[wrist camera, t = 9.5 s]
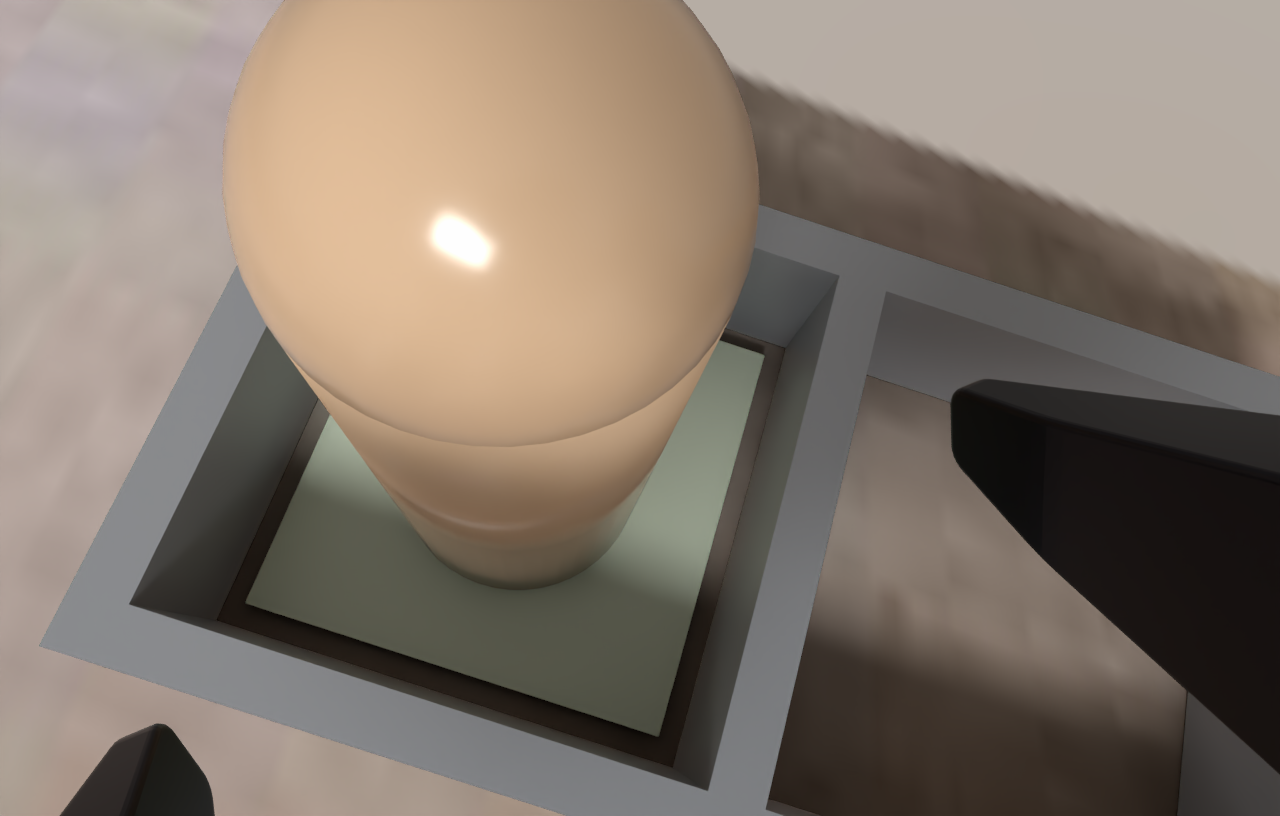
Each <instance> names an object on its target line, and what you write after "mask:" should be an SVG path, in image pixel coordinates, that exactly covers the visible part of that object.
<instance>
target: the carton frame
mask: <svg viewBox="0 0 1280 816" xmlns="http://www.w3.org/2000/svg"><path fill="white" fill-rule="evenodd" d="M725 328H727V329H730V330H733V331H736V332H739V333H742V334H745V335H748V336H751V337H754V338H757V339H760V340H763V341H766V342H769V343H772V344H775V345H778V346H781V347H784V348H786V349H785V353H784V357H783V360H782V364H781V368H780V371H779V375H778V379H777V383H776V386H775V390H774V394H773V397H772V401H771V405H770V408H769V412H768V416H767V420H766V423H765V427H764V431H763V434H762V438H761V442H760V446H759V449H758V453H757V457H756V460H755V464H754V468H753V471H752V475H751V479H750V483H749V486H748V490H747V494H746V497H745V501H744V505H743V509H742V512H741V516H740V520H739V523H738V527H737V531H736V534H735V538H734V542H733V546H732V549H731V553H730V557H729V560H728V564H727V568H726V572H725V575H724V579H723V583H722V586H721V590H720V594H719V597H718V601H717V605H716V609H715V612H714V616H713V620H712V623H711V627H710V631H709V635H708V638H707V642H706V646H705V649H704V653H703V657H702V660H701V664H700V668H699V672H698V675H697V679H696V683H695V686H694V690H693V694H692V698H691V701H690V705H689V709H688V712H687V716H686V720H685V724H684V727H683V731H682V735H681V738H680V742H679V746H678V749H677V753H676V757H675V761H674V764H673V768H672V767H669V766H666V765H663V764H660V763H656V762H653V761H650V760H647V759H644V758H641V757H638V756H635V755H632V754H629V753H625V752H622V751H619V750H616V749H613V748H610V747H607V746H604V745H601V744H598V743H594V742H591V741H588V740H585V739H582V738H579V737H576V736H573V735H570V734H567V733H563V732H560V731H557V730H554V729H551V728H548V727H545V726H542V725H539V724H536V723H533V722H529V721H526V720H523V719H520V718H517V717H514V716H511V715H508V714H505V713H502V712H498V711H495V710H492V709H489V708H486V707H483V706H480V705H477V704H474V703H471V702H467V701H464V700H461V699H458V698H455V697H452V696H449V695H446V694H443V693H440V692H436V691H433V690H430V689H427V688H424V687H421V686H418V685H415V684H412V683H409V682H405V681H402V680H399V679H396V678H393V677H390V676H387V675H384V674H381V673H378V672H375V671H371V670H368V669H365V668H362V667H359V666H356V665H353V664H350V663H347V662H344V661H340V660H337V659H334V658H331V657H328V656H325V655H322V654H319V653H316V652H313V651H309V650H306V649H303V648H300V647H297V646H294V645H291V644H288V643H285V642H282V641H278V640H275V639H272V638H269V637H266V636H263V635H260V634H257V633H254V632H251V631H247V630H244V629H241V628H238V627H235V626H232V625H229V624H226V623H223V622H220V621H216V620H217V617H218V615H219V613H220V611H221V609H222V607H223V604H224V602H225V600H226V598H227V596H228V593H229V591H230V589H231V587H232V585H233V583H234V580H235V578H236V576H237V574H238V572H239V569H240V567H241V565H242V563H243V561H244V559H245V556H246V554H247V552H248V550H249V548H250V545H251V543H252V541H253V539H254V537H255V535H256V532H257V530H258V528H259V526H260V524H261V521H262V519H263V517H264V515H265V513H266V511H267V508H268V506H269V504H270V502H271V500H272V497H273V495H274V493H275V491H276V489H277V487H278V484H279V482H280V480H281V478H282V476H283V473H284V471H285V469H286V467H287V465H288V463H289V460H290V458H291V456H292V454H293V452H294V450H295V447H296V445H297V443H298V441H299V439H300V436H301V434H302V432H303V430H304V428H305V426H306V423H307V421H308V419H309V417H310V415H311V412H312V410H313V408H314V406H315V404H316V402H317V399H318V397H317V395H316V394H315V392H314V391H313V390H312V388H311V387H310V386H309V384H308V383H307V381H306V380H305V379H304V377H303V376H302V374H301V373H300V372H299V370H298V369H297V368H296V366H295V365H294V363H293V362H292V361H291V359H290V358H289V357H288V355H287V354H286V352H285V351H284V350H283V348H282V347H281V345H280V344H279V342H278V341H277V340H276V338H275V337H274V335H273V334H272V333H271V331H270V330H269V328H268V327H267V325H266V324H265V322H264V320H263V318H262V317H261V315H260V313H259V311H258V309H257V307H256V305H255V303H254V301H253V299H252V297H251V295H250V293H249V291H248V289H247V287H246V285H245V283H244V281H243V279H242V277H241V274H240V271H239V267H238V265H237V267H236V268H235V270H234V272H233V274H232V276H231V278H230V280H229V282H228V284H227V286H226V288H225V290H224V291H223V293H222V295H221V297H220V299H219V301H218V303H217V305H216V307H215V309H214V311H213V313H212V315H211V316H210V318H209V320H208V322H207V324H206V326H205V328H204V330H203V332H202V334H201V336H200V338H199V339H198V341H197V343H196V345H195V347H194V349H193V351H192V353H191V355H190V357H189V359H188V361H187V363H186V364H185V366H184V368H183V370H182V372H181V374H180V376H179V378H178V380H177V382H176V384H175V386H174V387H173V389H172V391H171V393H170V395H169V397H168V399H167V401H166V403H165V405H164V407H163V409H162V410H161V412H160V414H159V416H158V418H157V420H156V422H155V424H154V426H153V428H152V430H151V432H150V434H149V435H148V437H147V439H146V441H145V443H144V445H143V447H142V449H141V451H140V453H139V455H138V457H137V458H136V460H135V462H134V464H133V466H132V468H131V470H130V472H129V474H128V476H127V478H126V480H125V482H124V483H123V485H122V487H121V489H120V491H119V493H118V495H117V497H116V499H115V501H114V503H113V505H112V506H111V508H110V510H109V512H108V514H107V516H106V518H105V520H104V522H103V524H102V526H101V528H100V530H99V531H98V533H97V535H96V537H95V539H94V541H93V543H92V545H91V547H90V549H89V551H88V553H87V554H86V556H85V558H84V560H83V562H82V564H81V566H80V568H79V570H78V572H77V574H76V576H75V578H74V579H73V581H72V583H71V585H70V587H69V589H68V591H67V593H66V595H65V597H64V599H63V601H62V602H61V604H60V606H59V608H58V610H57V612H56V614H55V616H54V618H53V620H52V622H51V624H50V625H49V627H48V629H47V631H46V633H45V635H44V637H43V639H42V641H41V643H40V645H39V646H40V647H44V648H47V649H50V650H53V651H56V652H59V653H62V654H65V655H68V656H72V657H75V658H78V659H81V660H84V661H87V662H90V663H93V664H96V665H100V666H103V667H106V668H109V669H112V670H115V671H118V672H121V673H124V674H128V675H131V676H134V677H137V678H140V679H143V680H146V681H149V682H152V683H156V684H159V685H162V686H165V687H168V688H171V689H174V690H177V691H180V692H184V693H187V694H190V695H193V696H196V697H199V698H202V699H205V700H208V701H212V702H215V703H218V704H221V705H224V706H227V707H230V708H233V709H236V710H240V711H243V712H246V713H249V714H252V715H255V716H258V717H261V718H264V719H268V720H271V721H274V722H277V723H280V724H283V725H286V726H289V727H292V728H295V729H299V730H302V731H305V732H308V733H311V734H314V735H317V736H320V737H323V738H327V739H330V740H333V741H336V742H339V743H342V744H345V745H348V746H351V747H355V748H358V749H361V750H364V751H367V752H370V753H373V754H376V755H379V756H383V757H386V758H389V759H392V760H395V761H398V762H401V763H404V764H407V765H411V766H414V767H417V768H420V769H423V770H426V771H429V772H432V773H435V774H439V775H442V776H445V777H448V778H451V779H454V780H457V781H460V782H463V783H467V784H470V785H473V786H476V787H479V788H482V789H485V790H488V791H491V792H495V793H498V794H501V795H504V796H507V797H510V798H513V799H516V800H519V801H523V802H526V803H529V804H532V805H535V806H538V807H541V808H544V809H547V810H551V811H554V812H557V813H560V814H563V815H566V816H821V815H818V814H814V813H811V812H808V811H805V810H802V809H799V808H796V807H793V806H790V805H787V804H783V803H780V802H777V801H774V800H771V799H768V797H769V792H770V788H771V784H772V779H773V775H774V771H775V766H776V762H777V758H778V754H779V749H780V745H781V741H782V736H783V732H784V728H785V724H786V719H787V715H788V711H789V706H790V702H791V698H792V693H793V689H794V685H795V681H796V676H797V672H798V668H799V663H800V659H801V655H802V651H803V646H804V642H805V638H806V633H807V629H808V625H809V620H810V616H811V612H812V608H813V603H814V599H815V595H816V590H817V586H818V582H819V577H820V573H821V569H822V565H823V560H824V556H825V552H826V547H827V543H828V539H829V535H830V530H831V526H832V522H833V517H834V513H835V509H836V504H837V500H838V496H839V492H840V487H841V483H842V479H843V474H844V470H845V466H846V462H847V457H848V453H849V449H850V444H851V440H852V436H853V431H854V427H855V423H856V419H857V414H858V410H859V406H860V401H861V397H862V393H863V389H864V384H865V380H866V376H867V375H869V376H872V377H875V378H878V379H881V380H884V381H887V382H890V383H893V384H896V385H899V386H902V387H906V388H909V389H912V390H915V391H918V392H921V393H924V394H927V395H930V396H933V397H936V398H939V399H942V400H945V401H948V402H951V398H952V395H953V393H954V392H955V391H956V390H957V389H959V388H961V387H964V386H966V385H968V384H971V383H973V382H976V381H978V380H981V379H995V380H1003V381H1011V382H1019V383H1027V384H1035V385H1043V386H1051V387H1059V388H1067V389H1075V390H1083V391H1091V392H1099V393H1107V394H1115V395H1123V396H1131V397H1139V398H1147V399H1155V400H1163V401H1171V402H1178V403H1186V404H1194V405H1202V406H1210V407H1218V408H1226V409H1234V410H1242V411H1250V412H1258V413H1266V414H1274V415H1280V377H1279V376H1276V375H1273V374H1270V373H1267V372H1264V371H1261V370H1258V369H1255V368H1252V367H1249V366H1245V365H1242V364H1239V363H1236V362H1233V361H1230V360H1227V359H1224V358H1221V357H1218V356H1215V355H1212V354H1209V353H1206V352H1203V351H1200V350H1197V349H1194V348H1191V347H1188V346H1185V345H1182V344H1179V343H1176V342H1173V341H1170V340H1167V339H1164V338H1161V337H1158V336H1155V335H1152V334H1149V333H1146V332H1143V331H1140V330H1137V329H1134V328H1131V327H1128V326H1125V325H1122V324H1119V323H1116V322H1113V321H1110V320H1107V319H1104V318H1101V317H1098V316H1095V315H1092V314H1089V313H1086V312H1083V311H1080V310H1077V309H1074V308H1071V307H1068V306H1065V305H1062V304H1059V303H1055V302H1052V301H1049V300H1046V299H1043V298H1040V297H1037V296H1034V295H1031V294H1028V293H1025V292H1022V291H1019V290H1016V289H1013V288H1010V287H1007V286H1004V285H1001V284H998V283H995V282H992V281H989V280H986V279H983V278H980V277H977V276H974V275H971V274H968V273H965V272H962V271H959V270H956V269H953V268H950V267H947V266H944V265H941V264H938V263H935V262H932V261H929V260H926V259H923V258H920V257H917V256H914V255H911V254H908V253H905V252H902V251H899V250H896V249H893V248H890V247H887V246H884V245H881V244H878V243H875V242H872V241H869V240H866V239H862V238H859V237H856V236H853V235H850V234H847V233H844V232H841V231H838V230H835V229H832V228H829V227H826V226H823V225H820V224H817V223H814V222H811V221H808V220H805V219H802V218H799V217H796V216H793V215H790V214H787V213H784V212H781V211H778V210H775V209H772V208H769V207H766V206H763V205H760V204H759V208H758V220H757V231H756V242H755V247H754V251H753V255H752V259H751V263H750V267H749V271H748V274H747V277H746V280H745V283H744V286H743V288H742V291H741V293H740V296H739V298H738V301H737V303H736V306H735V308H734V311H733V313H732V315H731V317H730V319H729V321H728V323H727V325H726V327H725ZM764 356H765V355H762V354H759V353H756V352H753V351H750V350H747V349H744V348H741V347H738V346H735V345H732V344H729V343H726V342H723V341H720V340H719V341H718V343H717V345H716V347H715V349H714V351H713V353H712V355H711V357H710V359H709V361H708V363H707V365H706V367H705V369H704V371H703V373H702V375H701V377H700V379H699V381H698V383H697V385H696V387H695V389H694V391H693V393H692V395H691V397H690V399H689V400H688V402H687V404H686V406H685V408H684V410H683V412H682V414H681V416H680V418H679V420H678V422H677V424H676V426H675V428H674V430H673V432H672V434H671V436H670V438H669V440H668V442H667V444H666V446H665V448H664V450H663V452H662V454H661V456H660V458H659V460H658V462H657V464H656V466H655V468H654V470H653V472H652V474H651V476H650V478H649V480H648V482H647V484H646V486H645V488H644V490H643V492H642V494H641V495H640V497H639V499H638V501H637V503H636V505H635V507H634V509H633V511H632V513H631V515H630V517H629V519H628V521H627V523H626V525H625V527H624V529H623V530H622V532H621V534H620V535H619V537H618V538H617V540H616V541H615V542H614V544H613V545H612V546H611V547H610V549H609V550H608V551H607V552H606V553H605V554H604V555H603V556H602V557H601V558H600V559H599V560H598V561H597V562H595V563H594V564H593V565H591V566H590V567H589V568H587V569H586V570H584V571H583V572H581V573H579V574H577V575H576V576H574V577H572V578H570V579H567V580H565V581H562V582H560V583H558V584H554V585H550V586H547V587H543V588H536V589H528V590H507V589H500V588H493V587H490V586H486V585H482V584H479V583H476V582H474V581H471V580H469V579H467V578H464V577H462V576H461V575H459V574H458V573H456V572H454V571H453V570H451V569H449V568H448V567H447V566H446V565H444V564H443V563H442V562H441V561H439V560H438V559H437V558H436V557H435V556H434V555H433V554H432V553H431V551H430V550H429V549H428V548H427V547H426V546H425V544H424V543H423V542H422V540H421V539H420V537H419V536H418V535H417V533H416V532H415V531H414V529H413V528H412V526H411V525H410V524H409V522H408V521H407V519H406V518H405V517H404V515H403V514H402V513H401V511H400V510H399V508H398V507H397V506H396V504H395V503H394V502H393V500H392V499H391V497H390V496H389V495H388V493H387V492H386V490H385V489H384V488H383V486H382V485H381V484H380V482H379V481H378V479H377V478H376V477H375V475H374V474H373V473H372V471H371V470H370V468H369V467H368V466H367V464H366V463H365V461H364V460H363V459H362V457H361V456H360V455H359V453H358V452H357V450H356V449H355V448H354V446H353V445H352V444H351V442H350V441H349V439H348V438H347V437H346V435H345V434H344V432H343V431H342V430H341V428H340V427H339V426H338V424H337V423H336V421H335V420H334V419H333V417H332V416H331V415H330V416H329V418H328V420H327V422H326V424H325V427H324V429H323V431H322V433H321V436H320V438H319V440H318V442H317V444H316V447H315V449H314V451H313V453H312V455H311V458H310V460H309V462H308V464H307V467H306V469H305V471H304V473H303V475H302V478H301V480H300V482H299V484H298V487H297V489H296V491H295V493H294V495H293V498H292V500H291V502H290V504H289V507H288V509H287V511H286V513H285V515H284V518H283V520H282V522H281V524H280V527H279V529H278V531H277V533H276V535H275V538H274V540H273V542H272V544H271V546H270V549H269V551H268V553H267V555H266V558H265V560H264V562H263V564H262V566H261V569H260V571H259V573H258V575H257V578H256V580H255V582H254V584H253V586H252V589H251V591H250V593H249V595H248V598H247V600H246V602H245V603H246V604H249V605H252V606H255V607H258V608H261V609H265V610H268V611H271V612H274V613H277V614H280V615H283V616H286V617H289V618H292V619H295V620H299V621H302V622H305V623H308V624H311V625H314V626H317V627H320V628H323V629H326V630H330V631H333V632H336V633H339V634H342V635H345V636H348V637H351V638H354V639H357V640H360V641H364V642H367V643H370V644H373V645H376V646H379V647H382V648H385V649H388V650H391V651H395V652H398V653H401V654H404V655H407V656H410V657H413V658H416V659H419V660H422V661H425V662H429V663H432V664H435V665H438V666H441V667H444V668H447V669H450V670H453V671H456V672H459V673H463V674H466V675H469V676H472V677H475V678H478V679H481V680H484V681H487V682H490V683H494V684H497V685H500V686H503V687H506V688H509V689H512V690H515V691H518V692H521V693H524V694H528V695H531V696H534V697H537V698H540V699H543V700H546V701H549V702H552V703H555V704H559V705H562V706H565V707H568V708H571V709H574V710H577V711H580V712H583V713H586V714H589V715H593V716H596V717H599V718H602V719H605V720H608V721H611V722H614V723H617V724H620V725H623V726H627V727H630V728H633V729H636V730H639V731H642V732H645V733H648V734H651V735H654V736H658V737H659V734H660V730H661V726H662V723H663V719H664V716H665V712H666V708H667V705H668V701H669V698H670V694H671V690H672V687H673V683H674V680H675V676H676V672H677V669H678V665H679V662H680V658H681V654H682V651H683V647H684V644H685V640H686V636H687V633H688V629H689V626H690V622H691V618H692V615H693V611H694V608H695V604H696V600H697V597H698V593H699V590H700V586H701V582H702V579H703V575H704V572H705V568H706V564H707V561H708V557H709V554H710V550H711V546H712V543H713V539H714V536H715V532H716V528H717V525H718V521H719V518H720V514H721V510H722V507H723V503H724V500H725V496H726V492H727V489H728V485H729V482H730V478H731V474H732V471H733V467H734V464H735V460H736V456H737V453H738V449H739V446H740V442H741V438H742V435H743V431H744V428H745V424H746V420H747V417H748V413H749V410H750V406H751V402H752V399H753V395H754V392H755V388H756V385H757V381H758V377H759V374H760V370H761V367H762V363H763V359H764ZM1177 816H1280V775H1279V774H1278V773H1277V772H1276V771H1275V770H1274V769H1273V768H1272V767H1270V766H1269V765H1268V764H1267V763H1266V762H1265V761H1264V760H1263V759H1262V758H1261V757H1259V756H1258V755H1257V754H1256V753H1255V752H1254V751H1253V750H1252V749H1251V748H1250V747H1248V746H1247V745H1246V744H1245V743H1244V742H1243V741H1242V740H1241V739H1240V738H1239V737H1237V736H1236V735H1235V734H1234V733H1233V732H1232V731H1231V730H1230V729H1229V728H1228V727H1226V726H1225V725H1224V724H1223V723H1222V722H1221V721H1220V720H1219V719H1218V718H1217V717H1215V716H1214V715H1213V714H1212V713H1211V712H1210V711H1209V710H1208V709H1207V708H1206V707H1204V706H1203V705H1202V704H1201V703H1200V702H1199V701H1198V700H1197V699H1196V698H1195V697H1193V696H1192V695H1191V694H1190V693H1189V692H1188V697H1187V709H1186V720H1185V732H1184V743H1183V755H1182V767H1181V778H1180V790H1179V801H1178V813H1177Z"/></svg>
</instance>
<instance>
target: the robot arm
mask: <svg viewBox="0 0 1280 816" xmlns="http://www.w3.org/2000/svg"><path fill="white" fill-rule="evenodd" d="M950 405H951V442H952V451H953V455H954V458H955V460H956V462H957V463H958V465H959V467H960V468H961V469H962V470H963V472H964V473H965V474H966V475H967V476H968V477H969V478H970V479H971V480H972V482H973V483H974V484H975V485H976V486H977V487H978V488H979V489H980V490H981V492H982V493H983V494H984V495H985V496H986V497H987V498H988V499H989V501H990V502H991V503H992V504H993V505H994V506H995V507H996V508H997V509H998V511H999V512H1000V513H1001V514H1002V515H1003V516H1004V517H1005V518H1006V520H1007V521H1008V522H1009V523H1010V524H1011V525H1012V526H1013V527H1014V528H1015V530H1016V531H1017V532H1018V533H1019V534H1020V535H1021V536H1022V537H1023V539H1024V540H1025V541H1026V542H1027V543H1028V544H1029V545H1030V546H1031V547H1032V548H1033V549H1034V550H1035V551H1036V552H1037V553H1038V554H1039V555H1040V557H1041V558H1042V559H1044V560H1045V561H1046V562H1047V563H1048V564H1049V565H1050V566H1051V567H1052V568H1053V569H1054V570H1055V571H1056V572H1057V573H1058V574H1059V575H1060V576H1062V577H1063V578H1064V579H1065V580H1066V581H1067V582H1068V583H1069V584H1070V585H1071V586H1073V587H1074V588H1075V589H1076V590H1077V591H1078V592H1079V593H1080V594H1081V595H1082V596H1084V597H1085V598H1086V599H1087V600H1088V601H1089V602H1090V603H1091V604H1092V605H1093V606H1095V607H1096V608H1097V609H1098V610H1099V611H1100V612H1101V613H1102V614H1103V615H1104V616H1106V617H1107V618H1108V619H1109V620H1110V621H1111V622H1112V623H1113V624H1114V625H1115V626H1117V627H1118V628H1119V629H1120V630H1121V631H1122V632H1123V633H1124V634H1125V635H1126V636H1127V637H1129V638H1130V639H1131V640H1132V641H1133V642H1134V643H1135V644H1136V645H1137V646H1138V647H1140V648H1141V649H1142V650H1143V651H1144V652H1145V653H1146V654H1147V655H1148V656H1149V657H1151V658H1152V659H1153V660H1154V661H1155V662H1156V663H1157V664H1158V665H1159V666H1160V667H1162V668H1163V669H1164V670H1165V671H1166V672H1167V673H1168V674H1169V675H1170V676H1171V677H1173V678H1174V679H1175V680H1176V681H1177V682H1178V683H1179V684H1180V685H1181V686H1182V687H1184V688H1185V689H1186V690H1187V691H1188V692H1189V693H1190V694H1191V695H1192V696H1193V697H1195V698H1196V699H1197V700H1198V701H1199V702H1200V703H1201V704H1202V705H1203V706H1204V707H1206V708H1207V709H1208V710H1209V711H1210V712H1211V713H1212V714H1213V715H1214V716H1215V717H1217V718H1218V719H1219V720H1220V721H1221V722H1222V723H1223V724H1224V725H1225V726H1226V727H1228V728H1229V729H1230V730H1231V731H1232V732H1233V733H1234V734H1235V735H1236V736H1237V737H1239V738H1240V739H1241V740H1242V741H1243V742H1244V743H1245V744H1246V745H1247V746H1248V747H1250V748H1251V749H1252V750H1253V751H1254V752H1255V753H1256V754H1257V755H1258V756H1259V757H1261V758H1262V759H1263V760H1264V761H1265V762H1266V763H1267V764H1268V765H1269V766H1270V767H1272V768H1273V769H1274V770H1275V771H1276V772H1277V773H1278V774H1279V775H1280V415H1274V414H1266V413H1258V412H1250V411H1242V410H1234V409H1226V408H1218V407H1210V406H1202V405H1194V404H1186V403H1178V402H1171V401H1163V400H1155V399H1147V398H1139V397H1131V396H1123V395H1115V394H1107V393H1099V392H1091V391H1083V390H1075V389H1067V388H1059V387H1051V386H1043V385H1035V384H1027V383H1019V382H1011V381H1003V380H995V379H981V380H978V381H976V382H973V383H971V384H968V385H966V386H964V387H961V388H959V389H957V390H956V391H955V392H954V393H953V395H952V398H951V404H950ZM60 816H215V814H214V804H213V797H212V792H211V788H210V785H209V782H208V780H207V778H206V776H205V774H204V773H203V771H202V770H201V769H200V767H199V766H198V765H197V763H196V762H195V760H194V759H193V758H192V756H191V755H190V753H189V752H188V751H187V749H186V748H185V747H184V745H183V744H182V742H181V741H180V740H179V738H178V737H177V736H176V734H175V733H174V732H173V730H172V729H171V728H169V727H168V726H167V725H165V724H154V725H152V726H149V727H147V728H144V729H142V730H140V731H137V732H135V733H132V734H130V735H128V736H125V737H123V738H121V739H119V740H118V741H116V742H115V743H114V744H113V746H112V747H111V748H110V749H109V750H108V752H107V753H106V754H105V756H104V757H103V758H102V760H101V761H100V762H99V764H98V765H97V766H96V768H95V769H94V771H93V772H92V773H91V775H90V776H89V777H88V779H87V780H86V781H85V783H84V784H83V785H82V787H81V788H80V789H79V791H78V792H77V793H76V795H75V796H74V797H73V799H72V800H71V801H70V803H69V804H68V805H67V807H66V808H65V809H64V811H63V812H62V813H61V815H60Z"/></svg>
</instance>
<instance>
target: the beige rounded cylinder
mask: <svg viewBox="0 0 1280 816" xmlns="http://www.w3.org/2000/svg"><path fill="white" fill-rule="evenodd" d="M222 195H223V202H224V209H225V216H226V222H227V228H228V232H229V236H230V241H231V245H232V249H233V252H234V255H235V258H236V261H237V264H238V267H239V271H240V274H241V277H242V279H243V281H244V283H245V285H246V287H247V289H248V291H249V293H250V295H251V297H252V299H253V301H254V303H255V305H256V307H257V309H258V311H259V313H260V315H261V317H262V318H263V320H264V322H265V324H266V325H267V327H268V328H269V330H270V331H271V333H272V334H273V335H274V337H275V338H276V340H277V341H278V342H279V344H280V345H281V347H282V348H283V350H284V351H285V352H286V354H287V355H288V357H289V358H290V359H291V361H292V362H293V363H294V365H295V366H296V368H297V369H298V370H299V372H300V373H301V374H302V376H303V377H304V379H305V380H306V381H307V383H308V384H309V386H310V387H311V388H312V390H313V391H314V392H315V394H316V395H317V397H318V398H319V399H320V401H321V402H322V403H323V405H324V406H325V408H326V409H327V410H328V412H329V413H330V415H331V416H332V417H333V419H334V420H335V421H336V423H337V424H338V426H339V427H340V428H341V430H342V431H343V432H344V434H345V435H346V437H347V438H348V439H349V441H350V442H351V444H352V445H353V446H354V448H355V449H356V450H357V452H358V453H359V455H360V456H361V457H362V459H363V460H364V461H365V463H366V464H367V466H368V467H369V468H370V470H371V471H372V473H373V474H374V475H375V477H376V478H377V479H378V481H379V482H380V484H381V485H382V486H383V488H384V489H385V490H386V492H387V493H388V495H389V496H390V497H391V499H392V500H393V502H394V503H395V504H396V506H397V507H398V508H399V510H400V511H401V513H402V514H403V515H404V517H405V518H406V519H407V521H408V522H409V524H410V525H411V526H412V528H413V529H414V531H415V532H416V533H417V535H418V536H419V537H420V539H421V540H422V542H423V543H424V544H425V546H426V547H427V548H428V549H429V550H430V551H431V553H432V554H433V555H434V556H435V557H436V558H437V559H438V560H439V561H441V562H442V563H443V564H444V565H446V566H447V567H448V568H449V569H451V570H453V571H454V572H456V573H458V574H459V575H461V576H462V577H464V578H467V579H469V580H471V581H474V582H476V583H479V584H482V585H486V586H490V587H493V588H500V589H507V590H528V589H536V588H543V587H547V586H550V585H554V584H558V583H560V582H562V581H565V580H567V579H570V578H572V577H574V576H576V575H577V574H579V573H581V572H583V571H584V570H586V569H587V568H589V567H590V566H591V565H593V564H594V563H595V562H597V561H598V560H599V559H600V558H601V557H602V556H603V555H604V554H605V553H606V552H607V551H608V550H609V549H610V547H611V546H612V545H613V544H614V542H615V541H616V540H617V538H618V537H619V535H620V534H621V532H622V530H623V529H624V527H625V525H626V523H627V521H628V519H629V517H630V515H631V513H632V511H633V509H634V507H635V505H636V503H637V501H638V499H639V497H640V495H641V494H642V492H643V490H644V488H645V486H646V484H647V482H648V480H649V478H650V476H651V474H652V472H653V470H654V468H655V466H656V464H657V462H658V460H659V458H660V456H661V454H662V452H663V450H664V448H665V446H666V444H667V442H668V440H669V438H670V436H671V434H672V432H673V430H674V428H675V426H676V424H677V422H678V420H679V418H680V416H681V414H682V412H683V410H684V408H685V406H686V404H687V402H688V400H689V399H690V397H691V395H692V393H693V391H694V389H695V387H696V385H697V383H698V381H699V379H700V377H701V375H702V373H703V371H704V369H705V367H706V365H707V363H708V361H709V359H710V357H711V355H712V353H713V351H714V349H715V347H716V345H717V343H718V341H719V339H720V337H721V335H722V333H723V331H724V329H725V327H726V325H727V323H728V321H729V319H730V317H731V315H732V313H733V311H734V308H735V306H736V303H737V301H738V298H739V296H740V293H741V291H742V288H743V286H744V283H745V280H746V277H747V274H748V271H749V267H750V263H751V259H752V255H753V251H754V247H755V242H756V231H757V220H758V208H759V197H760V192H759V175H758V163H757V156H756V150H755V144H754V139H753V134H752V129H751V125H750V120H749V116H748V114H747V111H746V108H745V105H744V103H743V100H742V97H741V94H740V92H739V89H738V87H737V84H736V82H735V79H734V77H733V74H732V72H731V70H730V68H729V66H728V65H727V63H726V61H725V59H724V57H723V55H722V53H721V51H720V49H719V48H718V47H717V45H716V44H715V42H714V41H713V40H712V38H711V36H710V35H709V34H708V32H707V31H706V29H705V28H704V27H703V25H702V24H701V23H700V21H699V20H698V19H697V17H696V16H695V14H694V13H693V11H692V10H691V9H690V8H689V7H688V6H687V5H686V4H685V3H684V1H683V0H284V1H283V2H282V4H281V5H280V6H279V8H278V9H277V11H276V12H275V13H274V15H273V16H272V17H271V19H270V20H269V22H268V23H267V25H266V26H265V28H264V29H263V31H262V32H261V34H260V35H259V37H258V39H257V41H256V42H255V44H254V46H253V48H252V50H251V52H250V54H249V56H248V58H247V60H246V61H245V63H244V66H243V69H242V72H241V75H240V77H239V80H238V83H237V86H236V89H235V92H234V95H233V99H232V102H231V106H230V109H229V113H228V118H227V124H226V130H225V135H224V141H223V189H222Z"/></svg>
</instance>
